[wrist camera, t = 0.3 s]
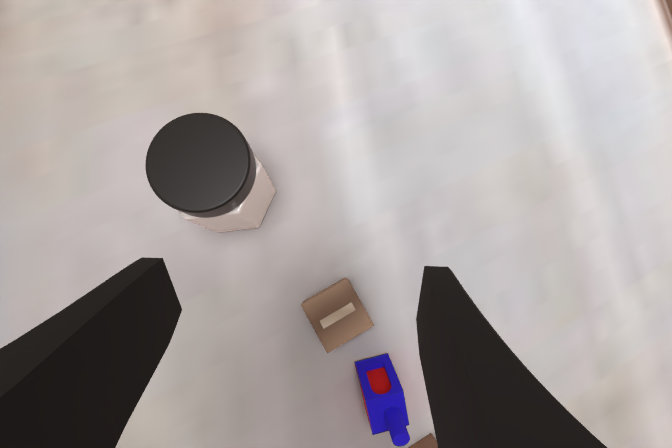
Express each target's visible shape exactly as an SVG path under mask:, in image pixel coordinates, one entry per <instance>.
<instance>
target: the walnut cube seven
mask: <svg viewBox="0 0 672 448" xmlns="http://www.w3.org/2000/svg"><path fill="white" fill-rule="evenodd" d="M409 448H438V445H437V441H436V440H435V438H434V437H433V435H432V434H431V433H430V434H429V435H427V436H426V437H424V438H423V439H421V440H420V441H418V442H416V443H415V444H413V445H412V446H410V447H409Z"/></svg>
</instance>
